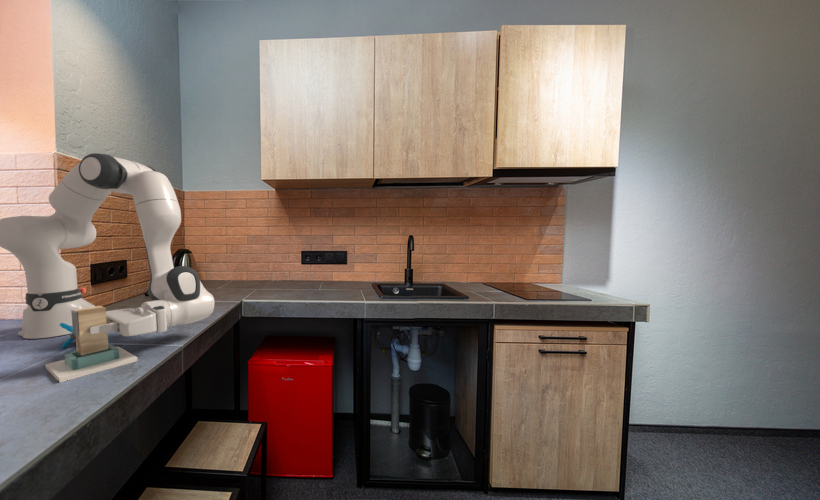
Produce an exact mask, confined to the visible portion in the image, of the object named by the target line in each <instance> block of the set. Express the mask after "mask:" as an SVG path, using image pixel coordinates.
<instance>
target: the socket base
mask: <svg viewBox="0 0 820 500" xmlns="http://www.w3.org/2000/svg"><path fill="white" fill-rule="evenodd" d="M63 355H64V358H63V359H62V360H61V359H60V360H56V361H52V362H49V363H45V365H44V366H45V370H47V371H48V373H50V374H51V375H52V376H53V377H54V378H55V380H56V381H57V380H58V381H59V382H58V381H57V382H58V383H59V384H60V383H64V382H67V380H68V381H71V380H75V379H78V378H82V377H86V376H89V375H92V374H93V375H94V374H95V373H99V372H103V371H104V372H105V371H106V370H110V369H115V368H118V367H121V366H125V365H128V364H132V363H135V362H138V361H139V360H138V356H136V355H135V354H132V353H131V352H129V351H128V350H125V349H124V348H122V347H121V346H115V345H113V344H111V343H110V342H108V349H106V350H102V351H98V352H94V353H90V354H86V355H82V356H81V355H80V354H78V353H77V350H74V351H69V352H64V353H63Z"/></svg>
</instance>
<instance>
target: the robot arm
mask: <svg viewBox="0 0 820 500" xmlns="http://www.w3.org/2000/svg"><path fill="white" fill-rule="evenodd" d="M111 192H114V193H117V194H121V195H131V196H132V199H133V204H134V207H135V211H136V215H137V219H138V221H139V225H140V227H141V228H140V229H141V232H142V236H143V240H144V247H145V252H146V260H147V262H148V263H147V264H148V268H149V274H150V275H149V282H148V286H147V295H148V296H149V298H150V299H151V301H150V300H149V301H144V302H142V303H141V306H140V307H136V308H135V307H127V308H120V309H112V310H106V320H107V324H104V325H95V326H90V327H89V333H91V334H96V333H104V332H107V333H113V332H114V333H115V332H116V333H117V334H119V335H121V336H122V337H135V336H140V335H147V334H151V333H158V334H159V333H164V332H167V331H168V329H169V328H171V327H173V326H176V325H177V326H178V325H187V324H191V323H196V322H198V321H202V320H205V319H206V318H209V317H210V316H211V315H212V313H213V312H214V309H215V307H216V306H215V305H216V301H215V298H214V296H213V294H212V293H210V292H209V291H208V290H207V289H206V288H205V287H204V285H203V283H202V282H201V279H200V275H199V273H198V272H197V271H196V270H195V269H194V268H192V267H189V266H186V265H179V266H174V262H173V256H172V251H171V245H172V241H173V238H174V236H175V234H176V233H177V231H178V229H179V228H180V226H181V223H182V212H181V211H182V210H181V206H180V203H179V201H178V197H177V194H176V191H175V189H174V187H173V186H172V183H171V182H170V180H169V179H168V177H167V176H166V175H165V174H164V173H162V172H159V171H158V170H157V169H155V168H153V167H151V166H149V165H144V164H142V163H140V162H137V161H133V160H132V159H131V160H130V159H125V158H121V157H117V156H113V155H110V154H105V153H95V152H94V153H89V154H87V155H85V156H84V157H83V158H82V159H81V161H80V162H78V163H77V164H76V165H75V166H73V167H72V168H71V169H70V170H69V171H68V172H67V173H66V174H65V175H64V176H63V178H62V179H61V180H60V181H59V183H58V184H57V185H56V187H55V188H54V189H53V190H52V192H51V193H50V194H49V196H48V202H49V204H50V206H51V207H52V208H53V209H54V210H55V212H54V213H52V214H51V215H48V216H45V215H44V216H41V215H16V216H10V217H8V216H7V217H4V218H0V248H1V249H4V250H6V251H8V252H9V253H11V254H12V255H13V256H14V257H15V258H17V260H18V261H19V262H20V264H21V266H22V267H23V271H24V274H25V275H24V276H25V281H26V288H27V289H26V290H27V292H26V293H25V297H24V299H25V304H26V305H27V307H26V308H24V309H23V311H22V319H21V320H22V323H21V331H18V333H17V335H18V336H19V337H22V338H23V339H30V340H32V339H44V338H45V339H46V338H53V337H59V336H64V335H71V334H72V332H69V331H67V329H64V328H62V327H61V326H60V324H61V323H65V324H67V325H69V326H72V314H71V311H72V310H76V309H83V308H89V307H96V305H94V304H92V303H90V302H89V301H87V300H85V299H84V298H83V294H86V293H87V289H86V287H78V277H77V276H78V275H77V268H76V265H74V264H73V263H72V262H70V261H66V260H64V259H63V258H62V256H61V255H60V253H59V250H65V249H77V248H81V247H84V246H89V245H91V244H93V242H94V241H95V240H96V237H97V229H96V227H95V225H94V224H93V223H92V221H93V218H94V215H95V213H96V212H97V211H98V209H99V208H100V206H101V205H102V204H103V203H104V201H106V199H107V198H108V196H109V195H110V193H111Z"/></svg>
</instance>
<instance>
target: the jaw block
mask: <svg viewBox="0 0 820 500" xmlns="http://www.w3.org/2000/svg"><path fill="white" fill-rule="evenodd" d="M106 311H107V308H106V307H105V306H102V305H95V307H89V308H83V309H76V310H72V311H71V314H72V327H73V334H74V335H75V336H76V340H75V346H76V351H77V353H78V354H80V355H81V356H82V355H86V354H90V353H94V352H98V351H102V350H106V349H108V344H109V336H108V332H104V333H96V334H91V333H89V327H90V326H95V325H104V324H107V320H106Z"/></svg>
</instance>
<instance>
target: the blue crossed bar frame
mask: <svg viewBox="0 0 820 500" xmlns="http://www.w3.org/2000/svg"><path fill="white" fill-rule="evenodd" d="M60 326H61V327H62V328H64V329H67V331H69V332H72V333H70V334H69V338H68V339H67V340H66V341H65V342H64V343H63V344H62V345H61V346H60V348H62V349H65V348H67V347H68V346H69V345H70V344H71V343H72V342H74V340H75V341H76V336H75V335H74V334H73V327H72V326H69V325H67V324H65V323H61V324H60Z"/></svg>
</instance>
